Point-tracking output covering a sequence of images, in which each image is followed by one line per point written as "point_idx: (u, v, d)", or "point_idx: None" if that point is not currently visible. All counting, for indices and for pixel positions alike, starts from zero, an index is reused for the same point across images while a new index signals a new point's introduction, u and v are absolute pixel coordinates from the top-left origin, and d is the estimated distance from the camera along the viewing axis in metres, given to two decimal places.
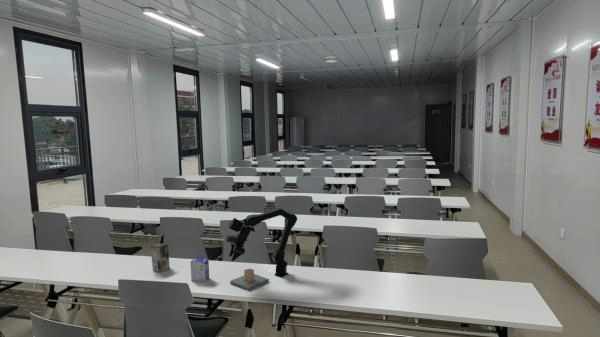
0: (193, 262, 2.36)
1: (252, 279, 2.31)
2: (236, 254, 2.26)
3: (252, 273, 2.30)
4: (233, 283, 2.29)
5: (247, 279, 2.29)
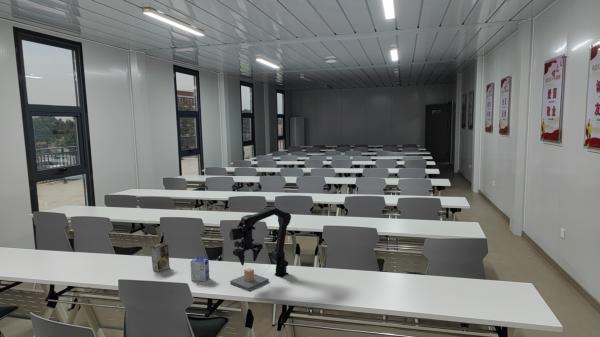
0: (193, 262, 2.36)
1: (252, 279, 2.31)
2: (241, 258, 2.25)
3: (252, 273, 2.30)
4: (233, 283, 2.29)
5: (247, 279, 2.29)
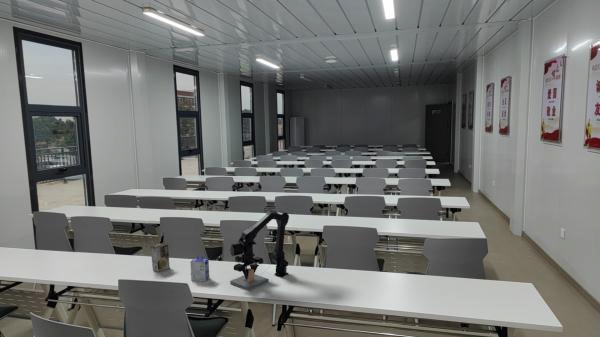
0: (193, 262, 2.36)
1: (252, 279, 2.31)
2: (245, 272, 2.28)
3: (252, 273, 2.30)
4: (233, 283, 2.29)
5: (247, 279, 2.29)
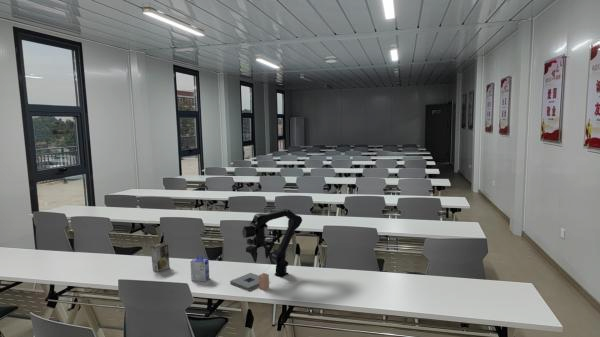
0: (193, 262, 2.36)
1: (267, 284, 2.22)
2: (253, 255, 2.30)
3: (267, 278, 2.22)
4: (233, 283, 2.29)
5: (262, 284, 2.21)
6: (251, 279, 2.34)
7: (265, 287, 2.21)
